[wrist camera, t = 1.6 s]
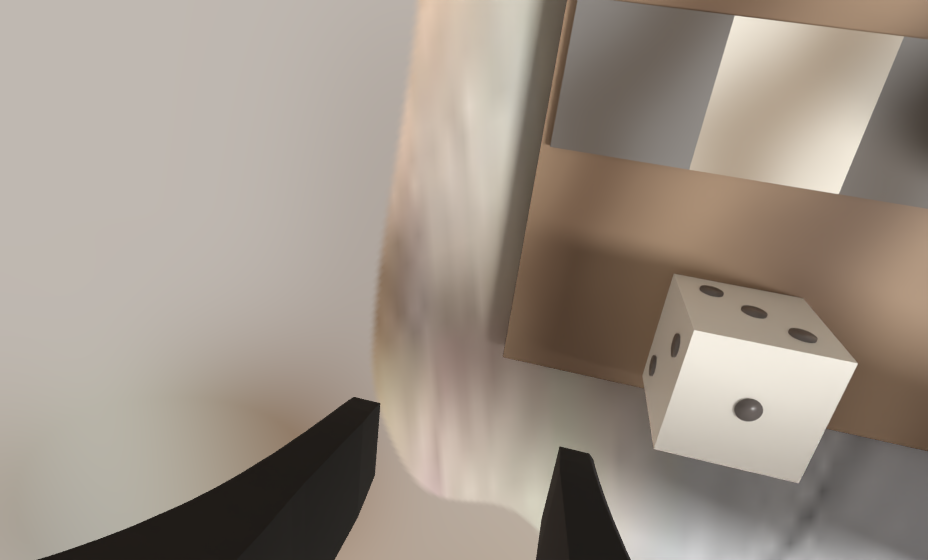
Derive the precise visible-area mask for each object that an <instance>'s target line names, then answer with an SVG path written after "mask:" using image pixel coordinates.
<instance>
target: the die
mask: <svg viewBox="0 0 928 560" xmlns="http://www.w3.org/2000/svg"><path fill="white" fill-rule="evenodd" d="M857 365H858V363H857V362H856V360H855V359H854V358H853V357H852V356H851V355H850V353H849V352H848V351H847V350H846V349H845V347H844V346H843V345H842V344H841V343H840V341H839V340H838V339H837V338H836V337H835V336H834V334H833V333H832V332H831V331H830V330H829V328H828V327H827V326H826V325H825V324H824V323H823V321H822V320H821V319H820V318H819V317H818V315H817V314H816V313H815V312H814V311H813V309H812V308H811V307H810V306H809V305H808V304H807V302H806V301H805V300H804V299H803V298H799V297H794V296H788V295H783V294H778V293H773V292H767V291H762V290H757V289H752V288H746V287H741V286H736V285H731V284H725V283H720V282H715V281H710V280H705V279H699V278H694V277H689V276H684V275H678V274H673V277H672V281H671V284H670V287H669V291H668V294H667V297H666V300H665V304H664V307H663V310H662V313H661V317H660V320H659V323H658V326H657V330H656V333H655V336H654V339H653V343H652V346H651V349H650V352H649V356H648V359H647V362H646V365H645V369H644V372H643V375H642V377H643V383H644V390H645V396H646V403H647V409H648V415H649V422H650V428H651V435H652V441H653V448H654V449H655V450H659V451H664V452H668V453H672V454H676V455H681V456H685V457H689V458H693V459H697V460H702V461H706V462H710V463H714V464H719V465H723V466H727V467H731V468H736V469H740V470H744V471H748V472H753V473H757V474H761V475H765V476H769V477H774V478H778V479H782V480H786V481H791V482H795V483H799V482H800V480H801V478H802V476H803V474H804V472H805V470H806V468H807V466H808V464H809V462H810V460H811V458H812V456H813V454H814V452H815V450H816V448H817V446H818V444H819V442H820V439H821V437H822V435H823V433H824V431H825V429H826V427H827V425H828V423H829V421H830V419H831V417H832V415H833V413H834V411H835V409H836V407H837V405H838V403H839V401H840V399H841V397H842V395H843V393H844V391H845V389H846V387H847V385H848V383H849V381H850V379H851V377H852V375H853V373H854V371H855V369H856V367H857Z"/></svg>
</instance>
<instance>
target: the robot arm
mask: <svg viewBox="0 0 928 560" xmlns="http://www.w3.org/2000/svg"><path fill="white" fill-rule="evenodd" d="M379 413H380V403H377V402H373V401H369V400H364V399H360V398H356V397H353V398H352V399H350V400H348V401H347V402H346V403H344V404H343V405H341V406H340V407H339V408H337V409H336V410H335V411H333V412H332V413H330V414H329V415H328V416H326V417H325V418H324V419H323V420H321V421H320V422H318V423H317V424H315V425H314V426H313V427H311V428H310V429H308V430H307V431H306V432H304V433H303V434H301V435H300V436H298V437H297V438H295V439H294V440H292V441H291V442H289V443H288V444H287V445H285V446H284V447H282V448H281V449H279V450H278V451H276V452H275V453H273V454H272V455H270V456H269V457H267V458H265V459H263V460H262V461H260V462H259V463H257V464H255V465H254V466H252V467H251V468H249V469H247V470H246V471H244V472H242V473H241V474H239V475H237V476H236V477H234V478H232V479H231V480H229V481H227V482H225V483H223V484H221V485H220V486H218V487H216V488H214V489H212V490H210V491H208V492H206V493H204V494H202V495H200V496H198V497H196V498H194V499H193V500H190V501H188V502H186V503H184V504H182V505H180V506H178V507H175V508H173V509H171V510H168V511H166V512H164V513H162V514H159V515H157V516H155V517H152V518H150V519H148V520H146V521H143V522H141V523H139V524H136V525H134V526H132V527H129V528H127V529H124V530H122V531H119V532H116V533H114V534H111V535H109V536H106V537H103V538H101V539H98V540H96V541H92V542H89V543H87V544H84V545H81V546H78V547H75V548H72V549H69V550H67V551H63V552H61V553H58V554H55V555H51V556H49V557H45V558H42V559H38V560H335V557H336V556H337V554H338V552H339V551H340V549H341V547H342V545H343V543H344V541H345V540H346V538H347V536H348V534H349V532H350V531H351V529H352V527H353V525H354V523H355V521H356V519H357V518H358V515H359V513H360V510H361V508H362V506H363V503H364V501H365V499H366V496H367V493H368V491H369V489H370V486H371V483H372V481H373V478H374V476H375V465H376V453H377V439H378V426H379ZM536 560H631V559H630V557H629V555H628V553H627V551H626V548H625V546H624V544H623V541H622V539H621V537H620V534H619V532H618V530H617V527H616V525H615V522H614V520H613V518H612V515H611V512H610V510H609V507H608V505H607V502H606V499H605V496H604V493H603V491H602V488H601V485H600V482H599V478H598V475H597V472H596V468H595V464H594V460H593V458H592V457H591V455H590V454H588V453H584V452H580V451H576V450H572V449H568V448H564V447H559V451H558V455H557V459H556V463H555V467H554V471H553V475H552V479H551V484H550V488H549V492H548V496H547V500H546V504H545V508H544V512H543V516H542V520H541V527H540V535H539V542H538V549H537V557H536Z"/></svg>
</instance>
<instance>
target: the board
mask: <svg viewBox="0 0 928 560" xmlns="http://www.w3.org/2000/svg"><path fill="white" fill-rule="evenodd" d="M673 274H678V275H684V276H689V277H694V278H699V279H705V280H710V281H715V282H720V283H725V284H731V285H736V286H741V287H746V288H752V289H757V290H762V291H767V292H773V293H778V294H783V295H788V296H794V297H799V298H803V299H804V300H805V301H806V302H807V304H808V305H809V306H810V307H811V308H812V309H813V311H814V312H815V313H816V314H817V315H818V317H819V318H820V319H821V320H822V321H823V323H824V324H825V325H826V326H827V327H828V328H829V330H830V331H831V332H832V333H833V334H834V336H835V337H836V338H837V339H838V340H839V341H840V343H841V344H842V345H843V346H844V347H845V349H846V350H847V351H848V352H849V353H850V355H851V356H852V357H853V358H854V359H855V360H856V362H857V363H858V365H857V367H856V369H855V371H854V373H853V375H852V377H851V379H850V381H849V383H848V385H847V387H846V389H845V391H844V393H843V395H842V397H841V399H840V401H839V403H838V405H837V407H836V409H835V411H834V413H833V415H832V417H831V419H830V421H829V423H828V425H827V427H826V429H830V430H835V431H839V432H844V433H848V434H853V435H857V436H862V437H866V438H871V439H875V440H880V441H884V442H889V443H893V444H898V445H902V446H907V447H911V448H916V449H921V450H925V451H928V0H567V3H566V9H565V14H564V20H563V25H562V31H561V36H560V42H559V47H558V53H557V59H556V64H555V70H554V75H553V81H552V86H551V92H550V97H549V103H548V109H547V114H546V120H545V125H544V131H543V136H542V142H541V147H540V153H539V158H538V164H537V170H536V175H535V181H534V186H533V192H532V197H531V203H530V208H529V214H528V220H527V225H526V231H525V236H524V242H523V247H522V253H521V258H520V264H519V270H518V275H517V281H516V286H515V292H514V297H513V303H512V308H511V314H510V319H509V325H508V331H507V336H506V342H505V347H504V353H503V357H505V358H509V359H514V360H518V361H523V362H527V363H532V364H536V365H541V366H545V367H550V368H554V369H559V370H563V371H568V372H572V373H577V374H581V375H586V376H591V377H595V378H600V379H604V380H609V381H613V382H618V383H622V384H627V385H631V386H636V387H640V388H644V383H643V377H642V375H643V372H644V369H645V365H646V362H647V359H648V356H649V352H650V349H651V346H652V343H653V339H654V336H655V333H656V330H657V326H658V323H659V320H660V317H661V313H662V310H663V307H664V304H665V300H666V297H667V294H668V291H669V287H670V284H671V281H672V277H673Z"/></svg>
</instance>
